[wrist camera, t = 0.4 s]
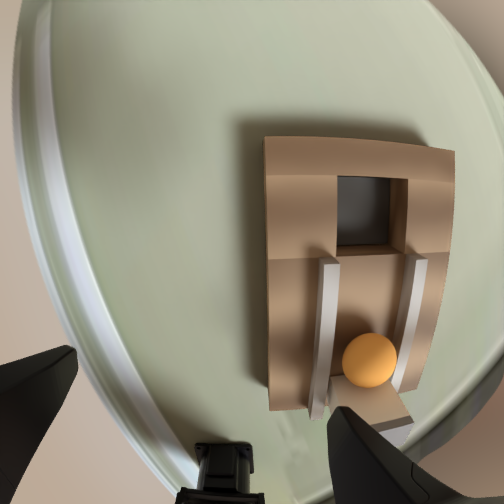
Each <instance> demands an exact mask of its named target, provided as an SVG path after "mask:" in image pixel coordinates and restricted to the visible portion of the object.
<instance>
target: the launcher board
mask: <svg viewBox="0 0 504 504" xmlns="http://www.w3.org/2000/svg"><path fill="white" fill-rule="evenodd" d="M263 165H264V197H265V234H266V278H267V340H268V396H269V410H270V411H280V410H294V409H305V408H308V412H309V416H310V420H318V419H322V418H323V412H324V406H329V405H328V402H327V393H328V387H329V380H330V377H332V376H341V375H345V374H344V371H343V367H342V358H343V354H344V351H345V349H346V347H347V346H348V344H349V343H350V342H351V341H352V340H353V339H355V338H356V337H358V336H360V335H362V334H366V333H377V334H380V335H383V336H385V337H386V338H387V339H389V340H390V341H391V343H392V344H393V346H394V348H395V350H396V355H397V362H396V367H395V369H394V372H393V373H392V375H391V376H390V378H389V380H390V382H391V383H392V385H393V387H394V388H395V390H396V392H397V393H398V394H399V393H403V392H407V391H411V390H415V389H417V386H418V384H419V381H420V378H421V375H422V372H423V369H424V366H425V363H426V359H427V356H428V353H429V349H430V346H431V342H432V339H433V335H434V331H435V327H436V323H437V319H438V315H439V311H440V306H441V301H442V297H443V291H444V286H445V280H446V275H447V268H448V262H449V254H450V246H451V237H452V227H453V214H454V194H455V151H452V150H446V149H440V148H434V147H427V146H421V145H413V144H406V143H398V142H388V141H379V140H367V139H354V138H338V137H312V136H265V137H264V140H263ZM337 175H340V176H369V177H388V178H389V179H388V178H368V177H337ZM382 243H387V244H382ZM349 244H358V245H349Z"/></svg>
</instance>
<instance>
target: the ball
mask: <svg viewBox="0 0 504 504" xmlns="http://www.w3.org/2000/svg"><path fill="white" fill-rule="evenodd" d="M396 362H397V355H396V350H395V348H394V346H393V344H392V343H391V341H390V340H389V339H387V338H386V337H385V336H383V335H380V334H377V333H366V334H362V335H360V336H358V337H356V338H355V339H353V340H352V341H351V342H350V343H349V344H348V346H347V347H346V349H345V351H344V354H343V358H342V367H343V371H344V374H345V375H346V377H347V378H348V380H349V381H350V382H352V383H353V384H354V385H356V386H359V387H363V388H372V387H376V386H379V385H381V384H382V383H384V382H385V381H387V380H388V379H389V378H390V376H391V375H392V373H393V372H394V369H395V367H396Z"/></svg>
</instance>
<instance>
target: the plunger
mask: <svg viewBox="0 0 504 504" xmlns="http://www.w3.org/2000/svg"><path fill="white" fill-rule="evenodd" d="M327 402H328V405H329V409H330V412H331V415H332V413H333V412H334V410H335V408H336V407H337V406H348V407H350V408H351V409H352V410H353V411H354V412H355V413H357V414H358V415H359V416H360V417H361V418H362V419H363V420H365V421H366V422H367V423H368V424H369V425H370V426H371V427H373V428H374V429H375V430H376V431H377V432H378V433H380V434H381V435H382V436H383V437H384V438H385V439H387V440H388V441H389V442H390V443H391V444H393V445H394V446H395V447H396V446H400V445H403V444H404V443H405V441H406V439H407V437H408V435H409V433H410V431H411V429H412V427H413V425H414V421H413V419H412V418H411V416H410V414H409V412H408V411H407V409H406V407H405V405H404V404H403V402H402V400H401V399H400V397H399V395H398V393H397V392H396V390H395V388H394V387H393V385H392V383H391V382H390V380H389V379H388V380H387V381H385V382H384V383H382V384H381V385H379V386H376V387H372V388H363V387H359V386H356V385H354V384H353V383H352V382H350V381H349V380H348V378H347V377H346V375H341V376H332V377H330V380H329V387H328V393H327Z"/></svg>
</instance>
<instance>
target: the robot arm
mask: <svg viewBox="0 0 504 504" xmlns="http://www.w3.org/2000/svg"><path fill="white" fill-rule="evenodd" d="M77 372H78V359H77V351H76V349H75V348H73V347H71V346H68V345H63V346H60V347H57V348H54V349H51V350H48V351H45V352H41V353H38V354H35V355H32V356H29V357H26V358H23V359H20V360H16V361H13V362H10V363H7V364H3V365H0V504H10V502H11V500H12V498H13V496H14V494H15V491H16V489H17V487H18V485H19V483H20V481H21V479H22V477H23V475H24V473H25V471H26V469H27V467H28V465H29V463H30V461H31V459H32V457H33V456H34V453H35V452H36V450H37V448H38V446H39V444H40V442H41V441H42V439H43V437H44V436H45V434H46V432H47V430H48V428H49V427H50V425H51V423H52V422H53V420H54V418H55V417H56V415H57V413H58V412H59V410H60V408H61V406H62V405H63V402H64V400H65V398H66V396H67V394H68V392H69V389H70V387H71V385H72V383H73V381H74V379H75V377H76V375H77ZM327 439H328V458H329V467H330V473H331V479H332V485H333V491H334V497H335V503H336V504H504V496H498V497H486V498H471V497H467V496H464V495H462V494H460V493H458V492H457V491H455V490H453V489H452V488H450V487H448V486H447V485H445V484H443V483H442V482H440V481H439V480H437V479H436V478H434V477H433V476H431V475H430V474H428V473H427V472H426V471H424V470H423V469H422V468H421V467H419V466H418V465H417V464H416V463H414V462H412V460H411V459H409V458H408V457H407V456H406V455H405V454H403V453H402V452H401V451H400V450H399V449H397V448H396V447H395V446H394V445H393V444H391V443H390V442H389V441H388V440H387V439H385V438H384V437H383V436H382V435H381V434H380V433H378V432H377V431H376V430H375V429H374V428H373V427H371V426H370V425H369V424H368V423H367V422H366V421H365V420H363V419H362V418H361V417H360V416H359V415H358V414H357V413H355V412H354V411H353V410H352V409H351V408H350V407H348V406H337V407H336V408H335V410H334V412H333V413H332V415H331V417H330V419H329V420H328V423H327ZM194 448H195V452H196V455H197V458H198V461H199V464H200V470H199V477H198V484H197V490H196V489H189V488H186V487H181V490H180V492H178V493H177V497H176V502H175V504H265V499H264V493H259V494H254V493H250V474H252V473H254V464H253V449H252V446H251V445H248V444H247V445H229V444H201V443H197V444H195V447H194Z"/></svg>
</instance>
